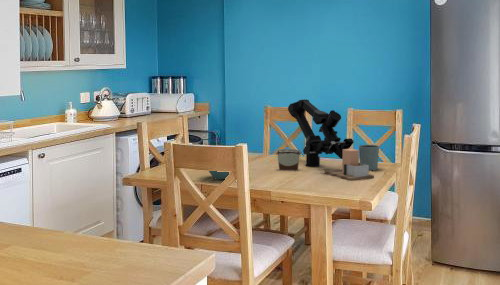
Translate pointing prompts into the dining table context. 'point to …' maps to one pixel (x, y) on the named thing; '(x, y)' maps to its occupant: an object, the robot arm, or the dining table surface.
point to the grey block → (356, 170)
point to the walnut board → (341, 175)
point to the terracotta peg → (350, 157)
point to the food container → (288, 159)
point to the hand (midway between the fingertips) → (342, 158)
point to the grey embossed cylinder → (369, 156)
